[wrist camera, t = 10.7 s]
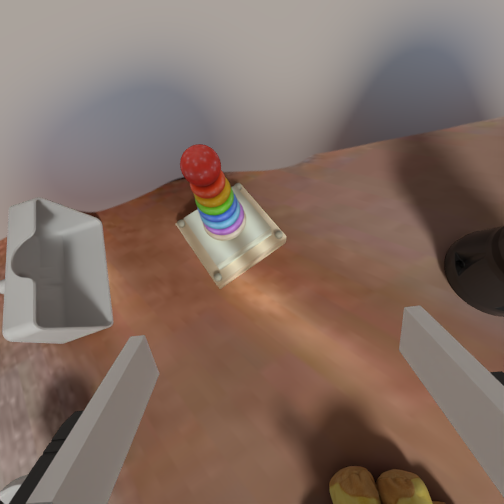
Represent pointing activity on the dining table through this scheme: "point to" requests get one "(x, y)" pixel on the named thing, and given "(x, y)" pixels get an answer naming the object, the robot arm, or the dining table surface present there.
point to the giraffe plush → (378, 487)
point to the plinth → (244, 258)
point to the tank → (54, 274)
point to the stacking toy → (212, 193)
